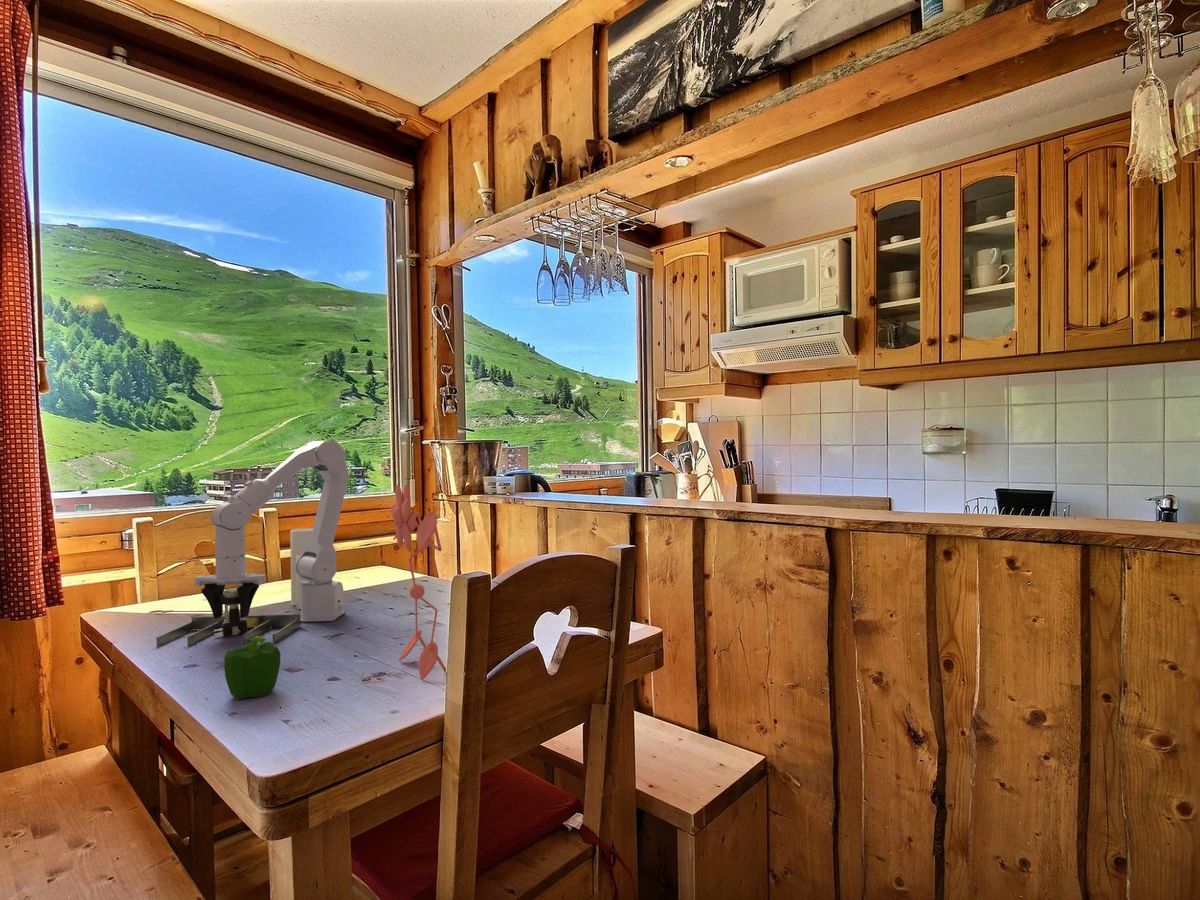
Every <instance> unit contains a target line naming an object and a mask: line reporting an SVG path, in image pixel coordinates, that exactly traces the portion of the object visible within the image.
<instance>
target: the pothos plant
mask: <svg viewBox="0 0 1200 900" xmlns="http://www.w3.org/2000/svg"><path fill="white" fill-rule="evenodd" d="M394 490H395V491H394V496H395V497H394V498H395V502H393V503H392V505H391V507H390V513H391V516H392V519H393V521H394V525H395V536H394V537H393V539H392V540H393V541H395V540H396V543H397V546H398V547H399V548H402V547H403V543H404V544H405V545H404V546H405V547H406V550H407V551H408V552H411V550H412V541H413V540H412V538H413V537H412V533H411V532H413V531H415V529H416V528H417V530H416V534H415V535H416V536H415V539H416V542H417V545H418V546H419V549H418V550H416V551H415V552H414V553H412V554H411V555H409V558H408V563H409V568H410V574H411V579H412V583H413V585H412V586H411V587H410V589H409V595H410V597H411V598H412V599H414V603H415V605H414V607H415V608H414V609H415V610H414V611H415V612H414V613H415V633H414V634H413V635H412V637H411V638H410V639H409V641H408V642H407V644H406V646H405V647H404V649H403V651H402V652H401V654H400V657H399V659H398V661H399V662H401V661H402V660H403V659H405V658H406V657H407V656H408V655H409V654H410V653H411V652H412V650H413V648H414V647H415V646H416V644H417V642H418V641H419V642H420V644H421V646H422V647H420V648H419V650H422V652H421V654H420V657H419V660H418V673H419V676H420V681H424V679H425V678H426V677H427V676H428V675H429V674H430V672H431V671H432V670H433V668H434V667H435V665H436V663H437V662H438V663H439V665H440V668H441V669H442V670H443V672H444V673H445V672H446V669H447V668H446V666H445V665H444V663H443V661H442V659H441V658H440V656H439V645H438V644H437V643H436V642H435V641H434V636H435V629H436V624H437V616H438V609H437V608H436V607H435V606H433V604H432V603H430V602H429V601H427V600H426V599H425V598H423V596H425V592H426V591H425V588H424V586H423V585H421V584H417V583H416V578H415V573H414V568H413V567H414V566H413V560H412V559H413V558H414V557H415V556H417V555H418V554H420V553H422V551H424V550H425V549H427V548H428V547H431V548H433V549H435V550H437V551H439V552H442V545H441V539H440V536H439V532H438V531H439V530H438V528H437V524H438V519H437V515H436V513H435V512H434V511H430V512H429V513H428V514H427V515H426V516H425V517H424V518H423V519H421V512H419V511H417V512H416V513H415V514H414V513H413V511H412V509H411V507H412V503H411V501H412V500H411V492H410V487H409V486H408V485H407V484H404V486H403V491H402V488H401V487H400V486H399V484H397V483H396V485H395V489H394ZM417 520H418V521H417ZM433 535H435V536H434V537H435V541H436V544H437V545H435V544H434V541H433V540H431V538H432V536H433ZM418 599H420V600H421V601H422V602H424V603H425V604H426V605H428V606H429V607H430V608H432V609H433V610H434V618H433V623H432V630H431V638H430V642H429V643H428V644H426V642H425V641H424V640H423V638H422V636H421V635H422V632H423V631H422V629H418Z"/></svg>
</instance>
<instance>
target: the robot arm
mask: <svg viewBox="0 0 1200 900" xmlns="http://www.w3.org/2000/svg"><path fill="white" fill-rule="evenodd" d="M346 455H347V452H346V451H345V449H344V448H343V446H342V445H341V444H340V443H339V442H337V441H335V440H333V439H327V440H311V441H308V442H306V443H305V444H304V445H303V446H301V447H299V448H297V449H296V450H295V451H294V452H293V453H292V454H291V455H290V456H289V457H288V458H286V459H285V460H284V461H283V462H282V463H281V464H279V465H278V466H277V467H276V468H274V470H272V471H271V472H270V473H269V474H268V475H266V477H264V478H262V479H261V478H255V479H253V480H247V481H246V482H245V483H244V486H245V487H243V488H242V489H240V490H239V491H238V492H236V494H234V495H230V496H228V497H227V498H226V499H227V500H228V501H227V502H222V503H220V504H218V505H216V506H215V508H214V509H213V512H212V513H211V515H210V516H209V518H210V521H211V523H212V524H213V526H215V537H214V543H215V545H214V546H215V547H214V551H215V559H214V560H215V574H211V575H210V574H209V575H199V576H196V577H194V586H195V587H201V586H203V588H201V593H202V595H203V596H204V597H205V599H206V600H207V602H208V604H209V605H208V606H210V609H211V612H212V616H214V619H215V618H219V617H221V616H223V611H224V608H223V607H224V606H223V604H221V599H220V598H219V596H220V595H222V594H224V591H225V587H226V586H229V585H233V586H234V585H236V586H237V585H241V586H237V587H236V588H237V592H238V595H239V601H240V604H239V613H240V617H241V618H244V617H246V616H248V615H250V610H251V607H252V606H251V605H252V602H253V599H254V598H255V595H256V593H257V591H258V589H259V587H260V586H261V585H264V584H266V583H267V574H264V573H263V574H261V573H259V574H258V573H246V539H245V538H246V534H245V533H246V532H245V529H246V528H245V526H247V524H248V523H249V521H250V518H251V517H250V516H252V515H254V514H255V513H256V512H257V511H258V510H259V509H261V508H262V507H263V506H264V505H266V504H268V502H269V501H270V500H272V499H273V498H274V497H275V490H276V489H277V488H278V487H279V486H281V485H282V484H283V483H285V482H286V481H288V480H289V479H290V478H291V477H293V476H294V475H296V474H297V473H298V472H300V471H301V470H302V469H306V468H313V469H315V470H316V471H318V473H319V474H320V475H321V477H322V478H323V480H324V482H323V485H322V486H323V487H322V490H321V493H320V494H321V495H320V498H319V500H318V501H319V502H318V506H317V511H316V515H315V519H314V521H313V522H314V523H313V527H312V528H313V530H312V535H311V539H310V542H309V543H308V544H307V545H306V546H305V547H304V549H303V553H302V555H301V556H300V558H299V559H298V560H297V562H296V566H295V568H296V572H297V574H298V575H299V576H300V577H301V580H300V609H301V610H300V614H301V623H305V622H308V623H309V622H333V621H335V620H336V619H338V618H339V617H340V616H342V615H343V614H344V613H345V612H346V611H345V610H344V608H345V607H344V606H345V605H344V586H343V583H342V582H341V581H334V580H333V578H334V577H335V575H336V573H337V571H338V569H337V567H338V566H337V561H336V560H337V551H336V548H335V546H334V541H335V538H336V533H337V530H338V529H337V528H338V524H339V520H340V516H341V511H342V507H343V503H344V500H345V499H344V498H345V494H346V489H347V487H348V481H349V470H348V467H347V466H348V465H347V462H346Z"/></svg>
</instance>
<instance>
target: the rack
mask: <svg viewBox="0 0 1200 900" xmlns="http://www.w3.org/2000/svg"><path fill="white" fill-rule="evenodd" d="M228 617H229V615H228ZM245 619H246V621H247V628H253V629H249V631H248V630H247V633H242V634H241V639H242V641H241V644H242V645H245V644H244V643H246V642H247V643H249V642H251V641H250V640H251V639H253V638H255V637H256V636H258V635H259V636H261V635H262V634H264V633H266V632H267V631H269V630H271V629H272V628H271V627H284V628H280V629H279V630H278V631H275V632H274V633H272V644H276V643H278V642H279V641H281V640H283V639H284V638H285V637H287V636H289V635H290V634H291V633H293V632H295V631H296V630H298V629H299V628H301V627H300V626H301V623H302V622H301V613H281V614H280V613H279V614H275V613H274V614H249V615H248V616H246V617H245ZM224 620H225V615H222V616H221V617H219V618H215V619H214V616H213V615H203V616H191V621H190V622H188V623H186V624H183V625H180V626H179V627H177V628H174V629H172V630H169V631H168V632H165V633H163V634H161V635H158V636H156V647H157V646H159V647H161V646H163V645H165V644H167V643H169V642H168V641H170V640H172V639H174V638H176V637H178V636H180V637H182V636H184V635H186V634H188V633H190V632H189V631H191V630H193V629H202V630H197V631H196V632H194V633H192V634H190V635H188V636H187V641H186V642H187V646H188V645H190V646H192V645H194V644H196V643H198V642H200V641H201V639H202V640H203V638H204V639H206V638H207V636H208V637H209V635H210V636H211V634H212V635H213V633H214V634H216V633H217V632H216V631H214V630H217V629H221V628H223V625H222V624H223V623H224ZM255 627H256V628H255ZM270 628H271V629H270ZM297 628H298V629H297ZM268 629H269V630H268ZM266 630H267V631H266ZM294 630H295V631H294ZM193 631H194V630H193ZM265 631H266V632H265ZM187 632H188V633H187ZM191 632H192V631H191ZM215 632H216V633H215ZM263 632H264V633H263ZM185 633H186V634H185ZM261 633H262V634H261ZM183 634H184V635H183ZM260 634H261V635H260ZM181 635H182V636H181ZM286 635H287V636H286ZM205 637H206V638H205ZM283 637H284V638H283ZM178 638H179V637H178ZM176 639H177V638H176ZM280 639H281V640H280ZM174 640H175V639H174ZM199 640H200V641H199ZM172 641H173V640H172ZM197 641H198V642H197ZM248 641H249V642H248ZM277 641H278V642H277ZM166 642H167V643H166ZM170 642H171V641H170ZM195 642H196V643H195ZM275 642H276V643H275ZM164 643H165V644H164ZM193 643H194V644H193ZM247 643H246V644H247ZM162 644H163V645H162ZM191 644H192V645H191ZM160 645H161V646H160Z"/></svg>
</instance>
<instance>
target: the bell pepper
mask: <svg viewBox="0 0 1200 900" xmlns="http://www.w3.org/2000/svg"><path fill="white" fill-rule="evenodd" d="M258 642H259V643H260V644H258ZM223 666H224V669H223V670H224V676H225V680H226V683H227V688H228V690H229V692H230V695H231V696H232V697H233V698H234V699H238V700H241V699H247V698H257V697H259V698H260V697H264V696H267V695H268V694H270V693H272V692H273V690H274V688H275V687H276V685H277V679H278V676H279V671H280V667H281V651H280V649H279V648H278V646H275V644H274V643H273V642H271V641H266V638H265V637H264V636H262V635H259V636H257V637H255V638H253V639H252V640H251V641H250V642H247V643H246V644H243V645H242V646H240V647H239V648H233V649H229V650H227V651H226V653H225V655H224V657H223Z"/></svg>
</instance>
